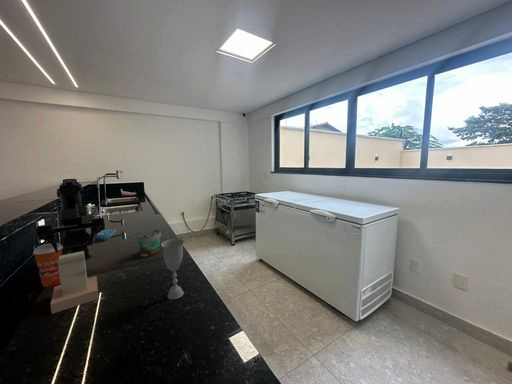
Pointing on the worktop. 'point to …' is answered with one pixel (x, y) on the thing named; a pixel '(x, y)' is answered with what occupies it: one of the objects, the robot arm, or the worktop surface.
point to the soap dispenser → (105, 234)
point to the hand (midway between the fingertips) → (74, 248)
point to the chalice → (173, 263)
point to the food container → (150, 244)
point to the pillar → (72, 273)
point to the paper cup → (48, 264)
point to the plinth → (74, 296)
